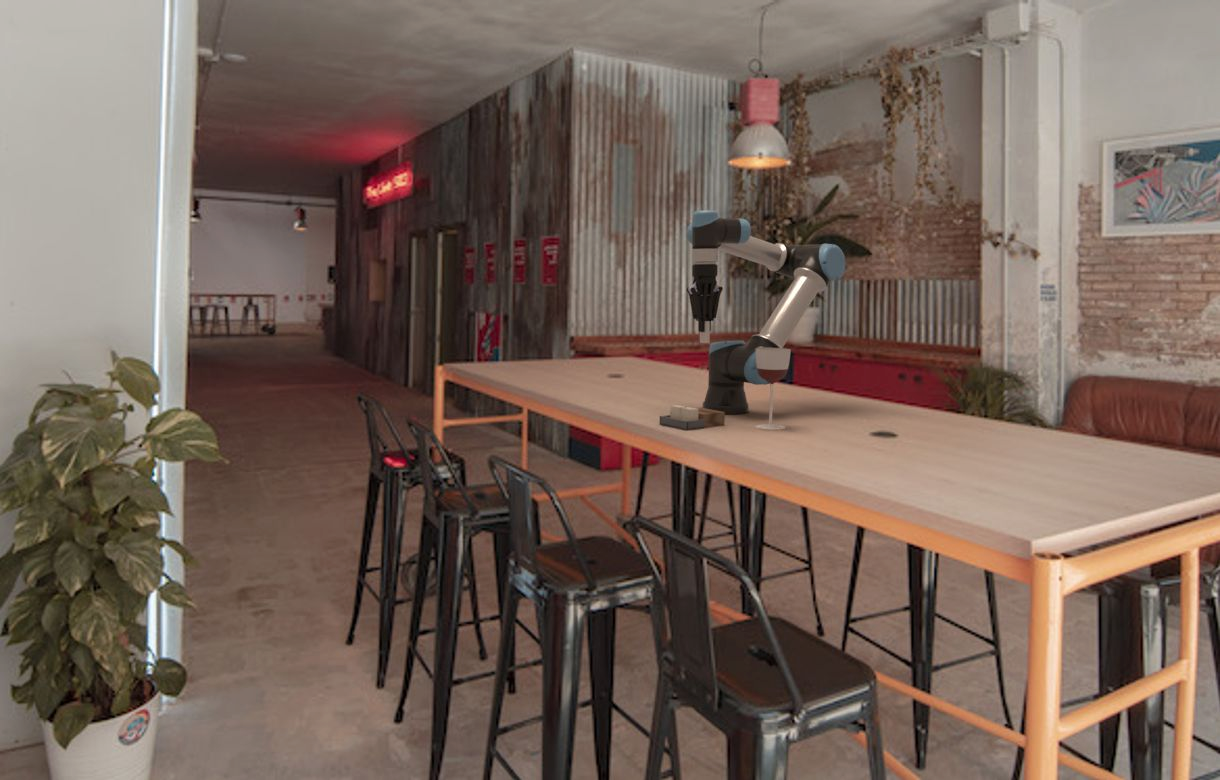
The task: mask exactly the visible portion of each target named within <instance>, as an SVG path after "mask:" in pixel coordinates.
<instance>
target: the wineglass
mask: <svg viewBox="0 0 1220 780" xmlns="http://www.w3.org/2000/svg"><path fill="white" fill-rule="evenodd" d="M791 352H792V351H791V349H790V348H784V347H783V348H756V364H757V371H758V374H759V376H760V377H761V378H763V379H764V380H766V381H767V382H769V383H770V384H769V385H770V386H769V387H770V388H769V411H768V412H769V414H768V415H769V417H768V423H767V424H757V425H755V427H756V428H758V429H763V430H784V429H785V428H786V426H784V425H779V424H773V408H774V407H773V406H774V403H773V402H774V384H775V383H777V382H778V381H781V380H782V379H785V377H786V376H787V374H788V369H789V366H790V360H791Z"/></svg>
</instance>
